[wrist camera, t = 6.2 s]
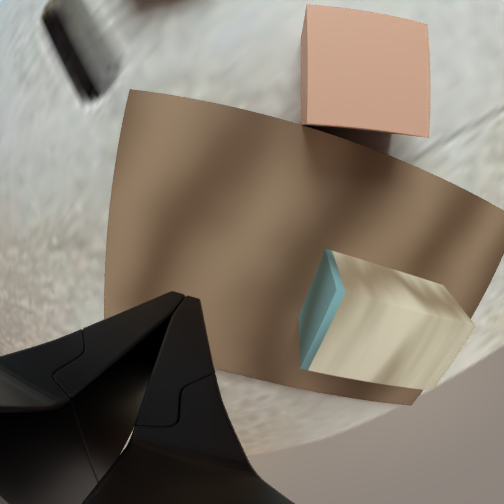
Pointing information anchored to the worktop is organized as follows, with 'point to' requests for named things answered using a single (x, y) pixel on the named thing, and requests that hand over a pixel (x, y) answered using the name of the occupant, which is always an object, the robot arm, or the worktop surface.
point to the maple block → (379, 324)
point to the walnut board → (276, 228)
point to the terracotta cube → (364, 71)
